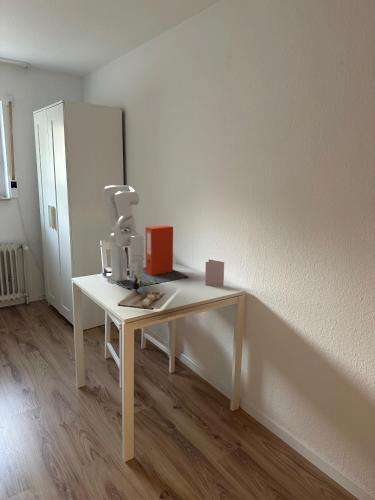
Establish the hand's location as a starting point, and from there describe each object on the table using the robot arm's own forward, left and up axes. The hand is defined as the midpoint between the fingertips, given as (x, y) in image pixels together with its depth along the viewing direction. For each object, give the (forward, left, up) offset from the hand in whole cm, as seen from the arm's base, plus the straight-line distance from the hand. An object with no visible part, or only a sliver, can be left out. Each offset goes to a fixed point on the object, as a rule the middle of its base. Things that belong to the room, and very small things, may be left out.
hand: (137, 288), depth 202 cm
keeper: (+4, -5, -2) cm, 6 cm away
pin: (0, 0, -2) cm, 2 cm away
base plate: (+7, -9, -4) cm, 11 cm away
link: (+12, -10, -2) cm, 16 cm away
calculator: (-30, +35, -4) cm, 47 cm away
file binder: (-3, +47, -4) cm, 47 cm away
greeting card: (+38, +30, -4) cm, 49 cm away
